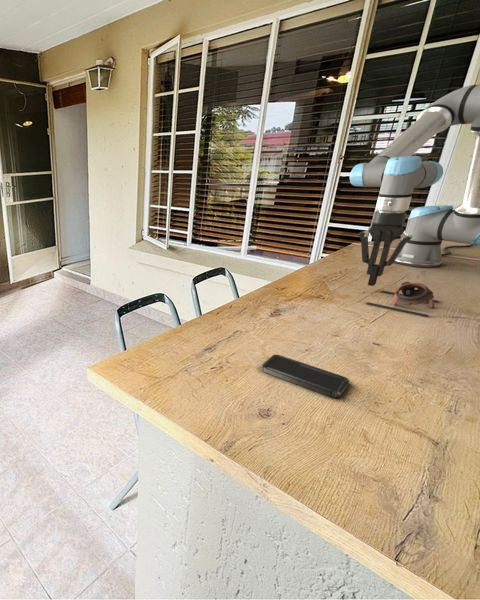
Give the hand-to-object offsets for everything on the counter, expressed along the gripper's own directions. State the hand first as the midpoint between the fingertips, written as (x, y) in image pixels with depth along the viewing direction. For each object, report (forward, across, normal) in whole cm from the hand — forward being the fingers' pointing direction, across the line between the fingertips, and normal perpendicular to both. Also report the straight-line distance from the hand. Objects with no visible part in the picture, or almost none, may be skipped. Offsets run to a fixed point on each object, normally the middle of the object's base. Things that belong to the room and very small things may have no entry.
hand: (371, 284), depth 114 cm
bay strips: (+4, +9, 0) cm, 10 cm away
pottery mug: (+4, +11, -1) cm, 11 cm away
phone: (+4, +4, -64) cm, 64 cm away
